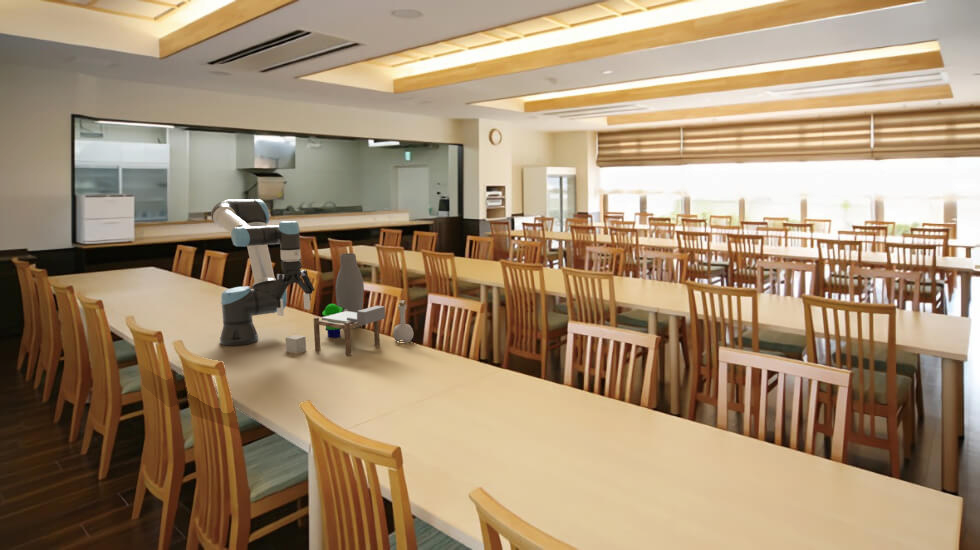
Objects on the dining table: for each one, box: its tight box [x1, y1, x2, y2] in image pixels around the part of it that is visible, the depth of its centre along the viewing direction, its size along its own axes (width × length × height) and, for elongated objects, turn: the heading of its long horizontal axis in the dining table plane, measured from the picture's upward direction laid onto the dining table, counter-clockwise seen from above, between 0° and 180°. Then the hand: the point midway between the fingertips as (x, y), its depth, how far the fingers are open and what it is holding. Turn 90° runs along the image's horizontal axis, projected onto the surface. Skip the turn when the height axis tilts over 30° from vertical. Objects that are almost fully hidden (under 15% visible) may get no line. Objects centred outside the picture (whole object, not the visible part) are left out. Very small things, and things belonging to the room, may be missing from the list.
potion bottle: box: [392, 299, 414, 344], centre depth 249 cm, size 9×9×18 cm
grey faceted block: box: [321, 305, 386, 326], centre depth 236 cm, size 22×14×6 cm, turn 60°
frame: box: [313, 310, 381, 357], centre depth 240 cm, size 18×18×14 cm
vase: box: [335, 252, 365, 329], centre depth 274 cm, size 13×13×35 cm
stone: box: [284, 334, 307, 355], centre depth 236 cm, size 6×5×6 cm
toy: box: [321, 303, 344, 339], centre depth 257 cm, size 9×9×15 cm
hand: (294, 312), depth 234 cm, fingers open, 13 cm apart
